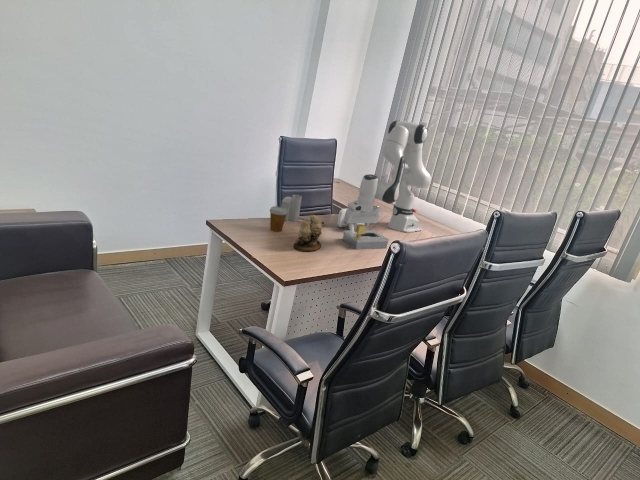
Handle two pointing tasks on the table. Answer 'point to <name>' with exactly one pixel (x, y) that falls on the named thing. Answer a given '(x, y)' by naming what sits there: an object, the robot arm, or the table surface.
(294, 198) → the electronic device
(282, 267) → the table surface
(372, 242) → the keyhole plate
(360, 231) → the peg
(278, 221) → the disposable coffee cup
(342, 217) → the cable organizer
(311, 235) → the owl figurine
